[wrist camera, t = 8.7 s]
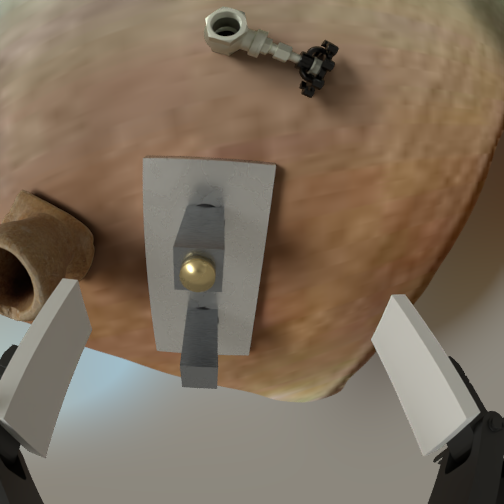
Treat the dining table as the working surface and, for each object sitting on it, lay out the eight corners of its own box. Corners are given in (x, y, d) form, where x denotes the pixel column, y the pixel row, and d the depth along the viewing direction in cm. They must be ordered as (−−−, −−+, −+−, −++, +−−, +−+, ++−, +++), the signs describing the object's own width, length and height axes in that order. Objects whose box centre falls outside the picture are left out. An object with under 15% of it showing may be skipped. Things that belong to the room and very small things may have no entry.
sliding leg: (224, 207, 31) (224, 256, 21) (221, 241, 33) (221, 299, 23) (187, 205, 30) (171, 253, 21) (186, 239, 32) (172, 296, 23)
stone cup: (112, 216, 32) (55, 287, 19) (85, 285, 36) (42, 362, 23) (24, 163, 27) (-56, 204, 14) (8, 235, 31) (-52, 292, 18)
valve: (195, 61, 25) (302, 99, 28) (188, 49, 19) (321, 97, 22) (218, 11, 22) (323, 49, 25) (217, -12, 16) (346, 37, 19)
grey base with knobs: (273, 162, 31) (298, 192, 21) (248, 348, 44) (255, 409, 34) (146, 155, 29) (108, 182, 19) (158, 343, 42) (147, 404, 32)
